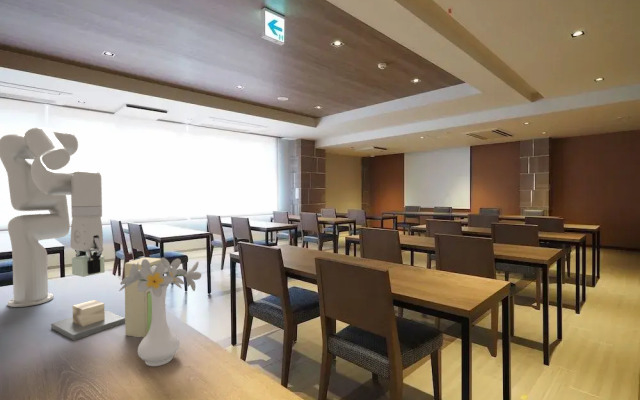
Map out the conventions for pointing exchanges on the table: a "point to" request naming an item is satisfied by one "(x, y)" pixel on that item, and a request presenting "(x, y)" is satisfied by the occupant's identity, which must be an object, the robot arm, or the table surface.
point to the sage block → (84, 266)
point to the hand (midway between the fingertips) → (88, 271)
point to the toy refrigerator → (138, 303)
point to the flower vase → (159, 306)
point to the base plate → (78, 331)
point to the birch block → (88, 312)
